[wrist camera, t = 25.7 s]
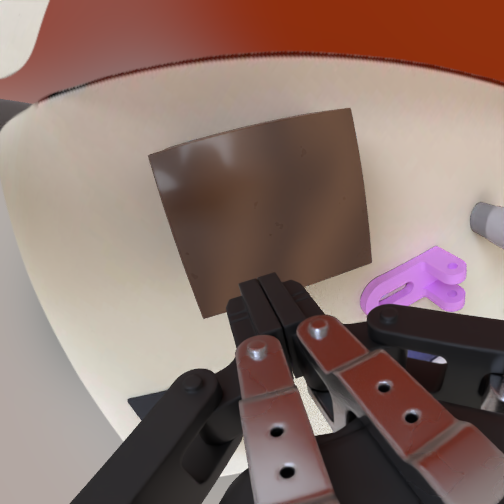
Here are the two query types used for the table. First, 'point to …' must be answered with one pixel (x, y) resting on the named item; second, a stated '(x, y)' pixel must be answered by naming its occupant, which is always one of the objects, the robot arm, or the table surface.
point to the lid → (266, 204)
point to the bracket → (420, 282)
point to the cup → (489, 222)
